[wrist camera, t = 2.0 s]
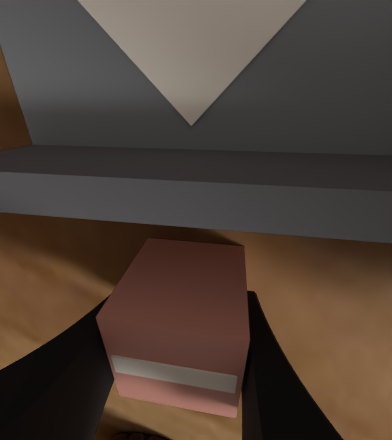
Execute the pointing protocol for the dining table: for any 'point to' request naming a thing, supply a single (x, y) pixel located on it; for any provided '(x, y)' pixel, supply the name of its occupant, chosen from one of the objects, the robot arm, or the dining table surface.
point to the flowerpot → (135, 437)
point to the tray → (204, 114)
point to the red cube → (180, 326)
